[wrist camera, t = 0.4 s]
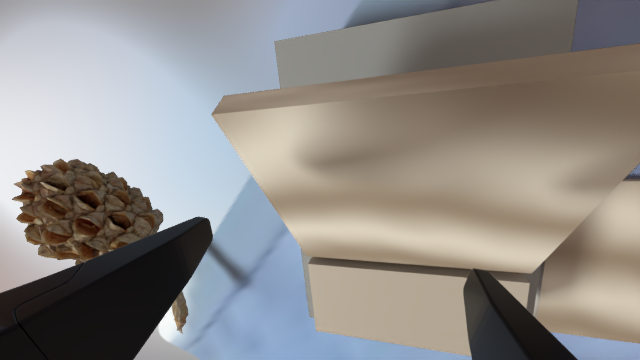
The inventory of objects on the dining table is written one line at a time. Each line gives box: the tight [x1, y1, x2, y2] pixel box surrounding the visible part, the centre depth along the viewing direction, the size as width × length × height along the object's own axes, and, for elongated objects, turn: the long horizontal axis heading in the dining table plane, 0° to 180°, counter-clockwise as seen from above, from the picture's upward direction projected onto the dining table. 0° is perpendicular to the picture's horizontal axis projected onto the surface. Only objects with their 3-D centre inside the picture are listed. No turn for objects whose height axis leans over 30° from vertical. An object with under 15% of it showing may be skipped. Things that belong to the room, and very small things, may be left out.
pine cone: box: [12, 159, 188, 334], centre depth 28 cm, size 22×10×10 cm, turn 46°
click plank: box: [212, 44, 640, 274], centre depth 13 cm, size 13×14×1 cm
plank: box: [533, 178, 640, 343], centre depth 20 cm, size 13×7×1 cm, turn 6°
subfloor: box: [274, 0, 578, 356], centre depth 20 cm, size 22×16×6 cm
